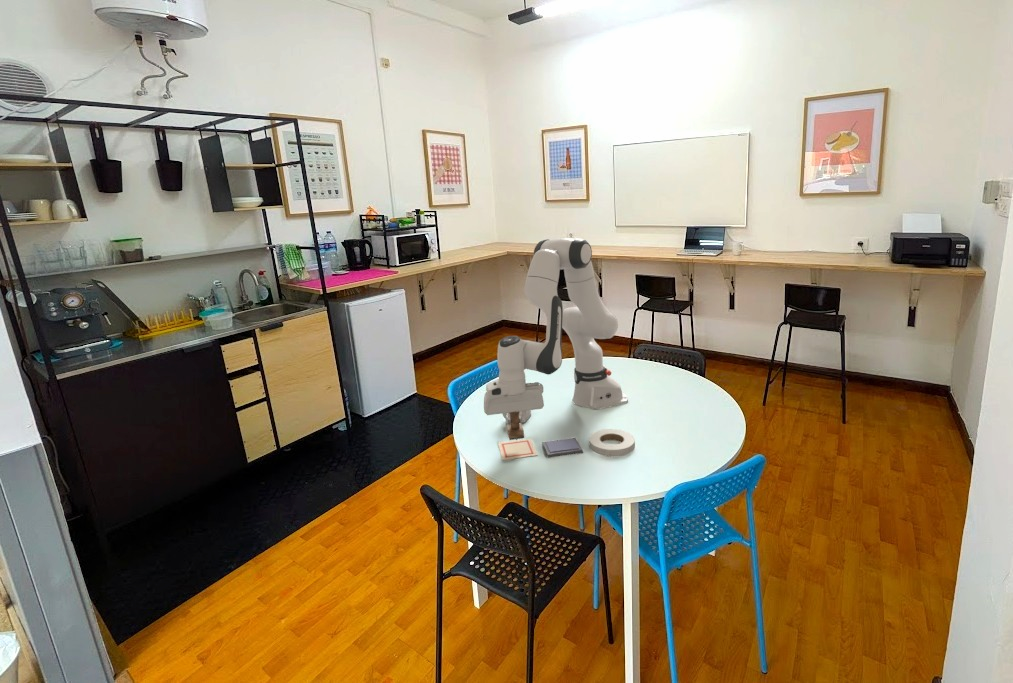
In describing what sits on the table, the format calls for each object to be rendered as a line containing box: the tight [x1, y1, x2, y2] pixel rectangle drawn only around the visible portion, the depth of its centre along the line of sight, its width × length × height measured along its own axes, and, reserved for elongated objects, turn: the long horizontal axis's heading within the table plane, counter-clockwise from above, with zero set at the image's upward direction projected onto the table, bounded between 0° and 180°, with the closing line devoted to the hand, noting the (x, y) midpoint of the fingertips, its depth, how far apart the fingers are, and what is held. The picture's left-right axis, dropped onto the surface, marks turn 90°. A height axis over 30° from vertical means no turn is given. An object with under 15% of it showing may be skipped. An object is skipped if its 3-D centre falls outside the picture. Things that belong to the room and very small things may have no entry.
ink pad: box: [541, 437, 584, 459], centre depth 176 cm, size 12×9×2 cm
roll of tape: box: [588, 428, 636, 458], centre depth 176 cm, size 16×15×3 cm
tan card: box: [497, 438, 539, 461], centre depth 178 cm, size 12×12×1 cm
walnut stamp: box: [506, 411, 525, 441], centre depth 174 cm, size 5×5×11 cm
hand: (514, 422), depth 175 cm, fingers closed on walnut stamp, 3 cm apart
